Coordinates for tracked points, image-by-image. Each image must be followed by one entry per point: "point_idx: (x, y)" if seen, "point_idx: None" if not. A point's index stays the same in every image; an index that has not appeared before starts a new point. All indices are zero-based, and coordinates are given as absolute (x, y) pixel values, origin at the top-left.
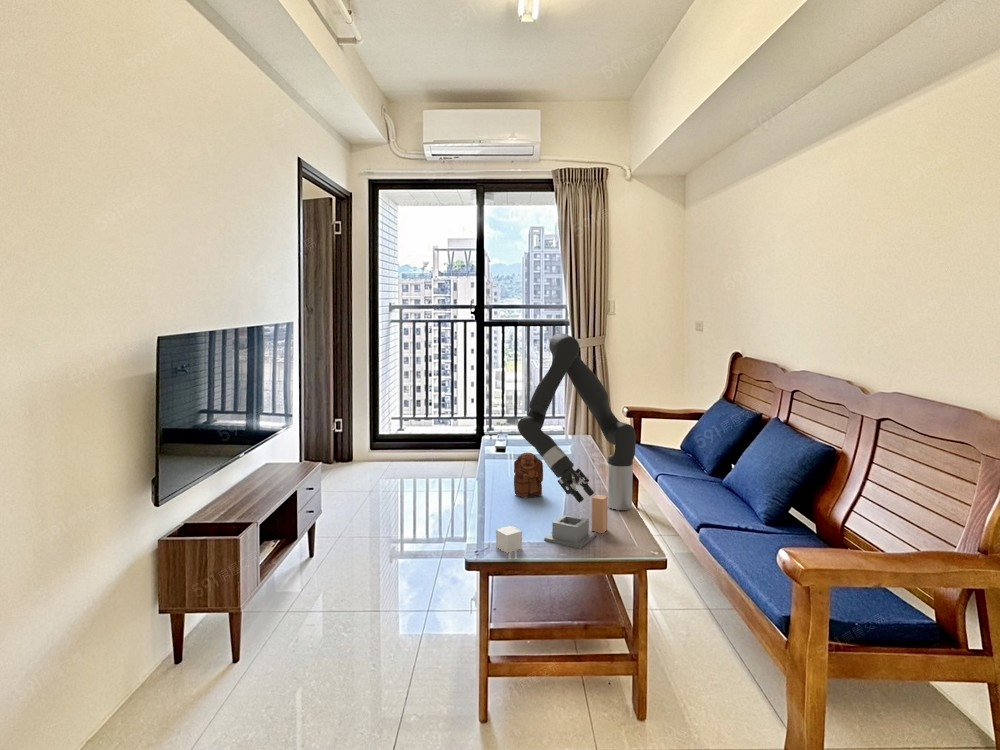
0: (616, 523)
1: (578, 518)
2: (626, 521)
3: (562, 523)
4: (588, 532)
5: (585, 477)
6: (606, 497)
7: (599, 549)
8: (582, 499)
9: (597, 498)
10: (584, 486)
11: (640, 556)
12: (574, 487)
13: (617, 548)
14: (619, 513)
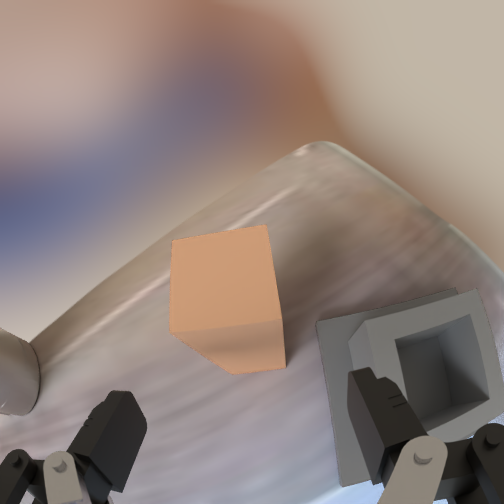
0: (140, 330)
1: (395, 369)
2: (108, 309)
3: (492, 368)
4: (350, 339)
5: (4, 485)
6: (193, 238)
7: (406, 247)
8: (368, 371)
9: (271, 268)
10: (102, 483)
11: (348, 157)
12: (422, 478)
13: (356, 213)
14: (55, 360)
